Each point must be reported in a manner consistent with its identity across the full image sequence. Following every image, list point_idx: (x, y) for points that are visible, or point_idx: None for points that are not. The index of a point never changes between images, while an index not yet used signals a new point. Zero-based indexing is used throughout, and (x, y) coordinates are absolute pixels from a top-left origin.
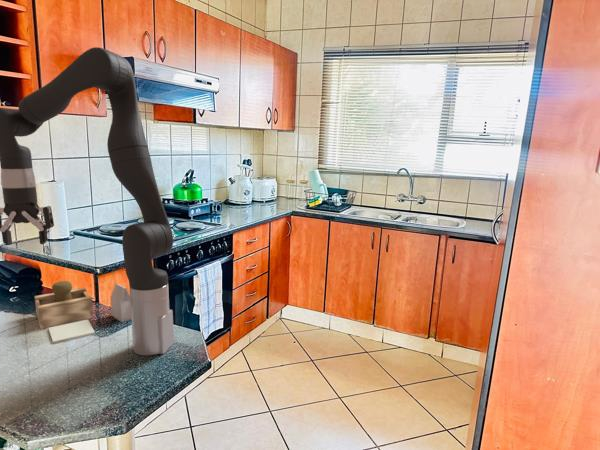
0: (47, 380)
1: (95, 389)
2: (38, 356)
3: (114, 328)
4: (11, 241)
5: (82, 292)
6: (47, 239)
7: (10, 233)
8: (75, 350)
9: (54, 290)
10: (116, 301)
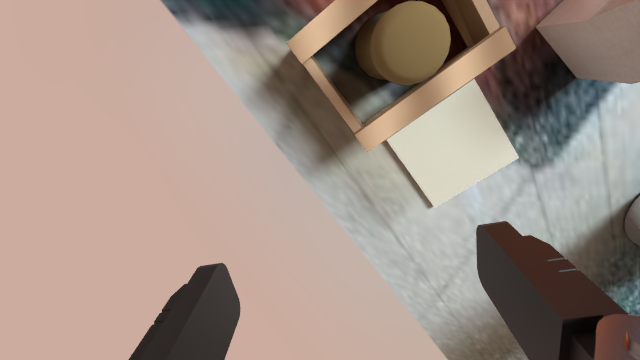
0: (481, 315)
1: None
2: (427, 252)
3: (561, 121)
4: (218, 279)
5: None
6: (546, 249)
7: (184, 343)
8: None
9: (393, 82)
10: (611, 60)
